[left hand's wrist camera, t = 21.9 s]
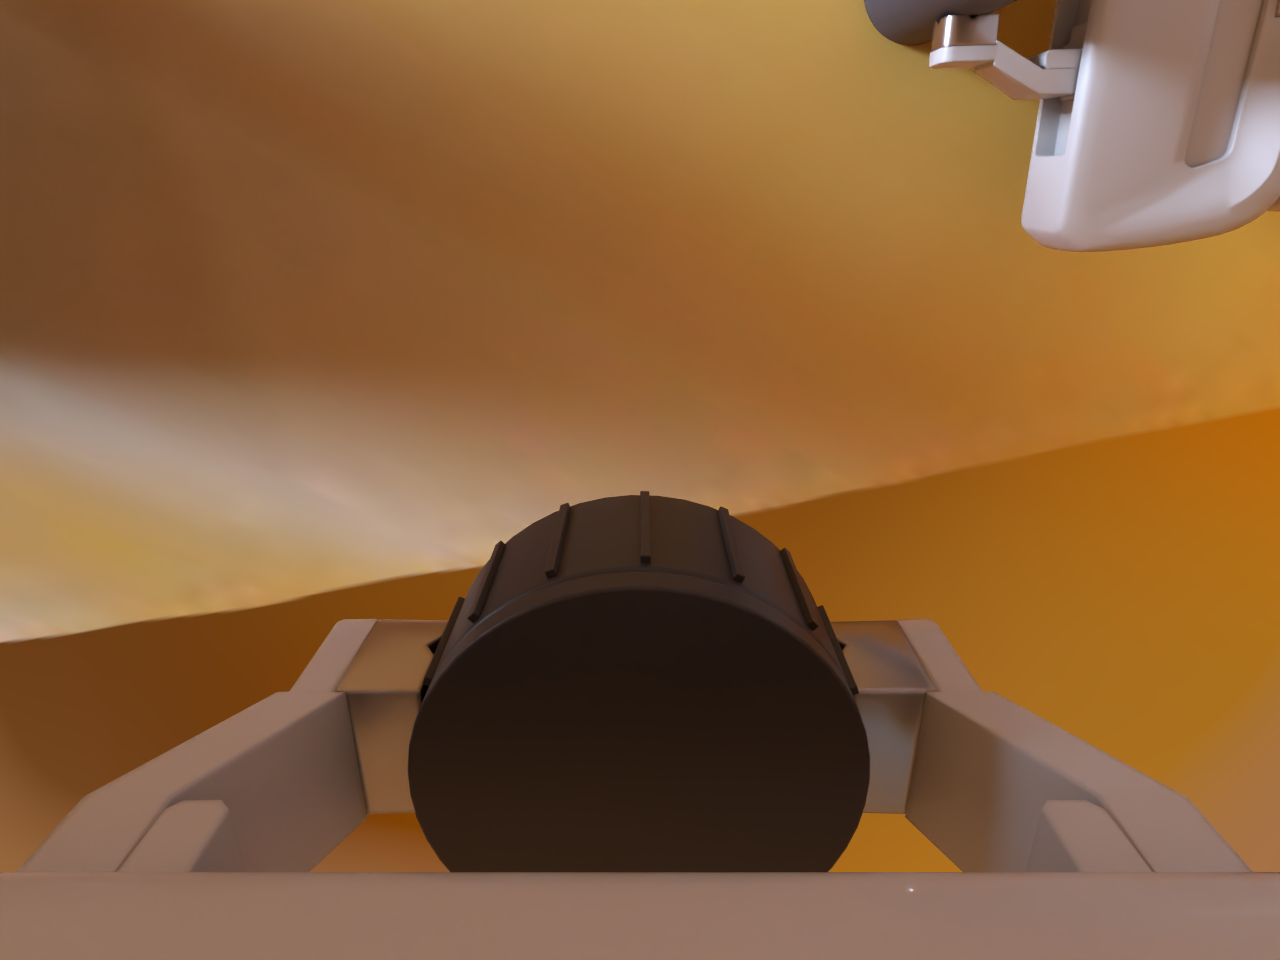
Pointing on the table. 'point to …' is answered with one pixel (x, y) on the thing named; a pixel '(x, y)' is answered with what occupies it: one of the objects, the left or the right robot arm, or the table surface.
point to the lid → (639, 704)
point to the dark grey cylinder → (921, 16)
